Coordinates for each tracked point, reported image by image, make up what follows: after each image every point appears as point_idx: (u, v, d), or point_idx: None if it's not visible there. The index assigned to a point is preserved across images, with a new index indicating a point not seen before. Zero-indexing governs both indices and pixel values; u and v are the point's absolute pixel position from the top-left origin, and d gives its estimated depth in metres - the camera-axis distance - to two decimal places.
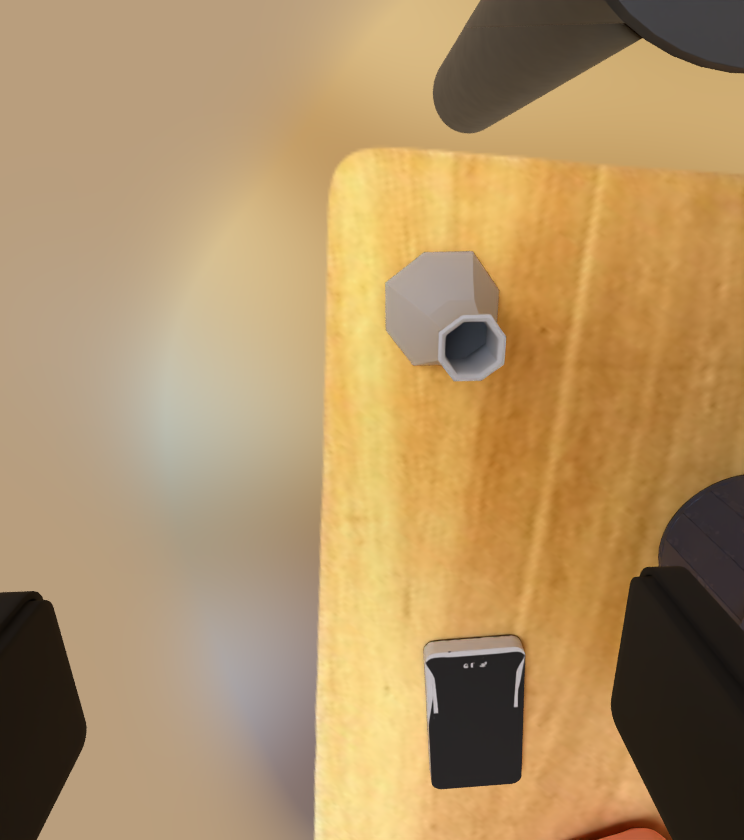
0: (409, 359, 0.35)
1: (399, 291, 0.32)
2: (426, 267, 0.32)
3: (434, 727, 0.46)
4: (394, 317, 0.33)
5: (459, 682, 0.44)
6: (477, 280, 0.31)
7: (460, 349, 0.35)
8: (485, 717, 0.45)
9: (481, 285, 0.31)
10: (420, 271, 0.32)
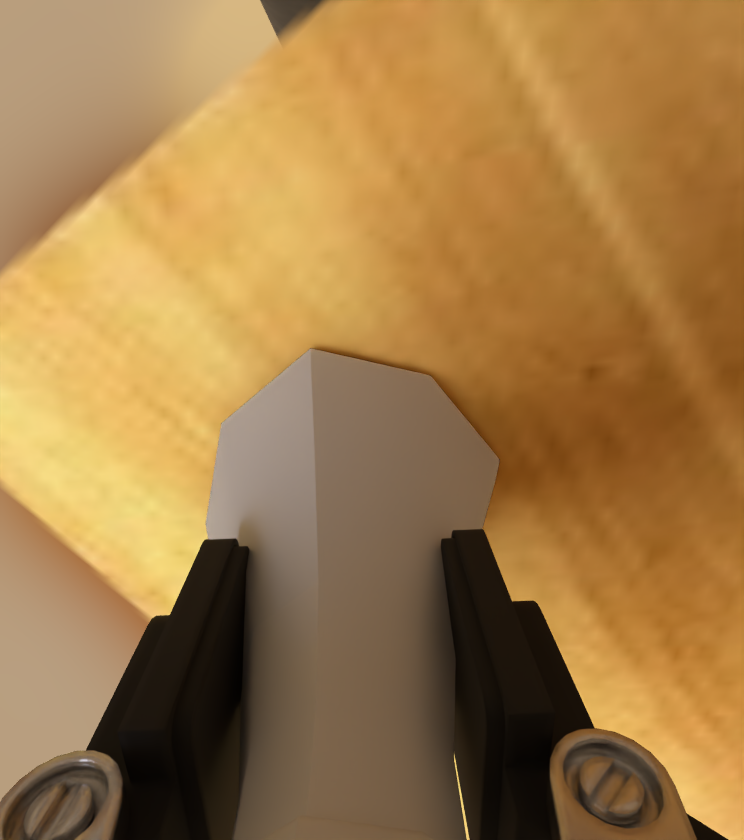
0: None
1: None
2: (228, 473, 0.12)
3: None
4: None
5: None
6: (336, 444, 0.11)
7: None
8: None
9: (356, 444, 0.11)
10: (223, 488, 0.12)
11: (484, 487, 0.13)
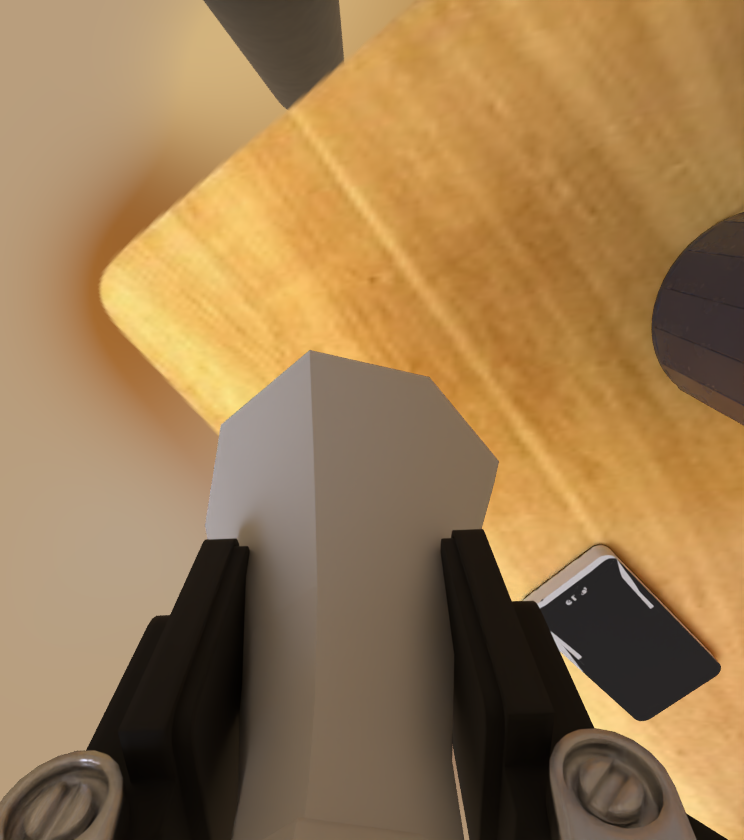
0: None
1: None
2: (228, 474, 0.12)
3: (591, 671, 0.42)
4: None
5: (576, 619, 0.40)
6: (335, 446, 0.11)
7: None
8: (631, 634, 0.41)
9: (355, 446, 0.11)
10: (223, 490, 0.12)
11: (483, 490, 0.13)
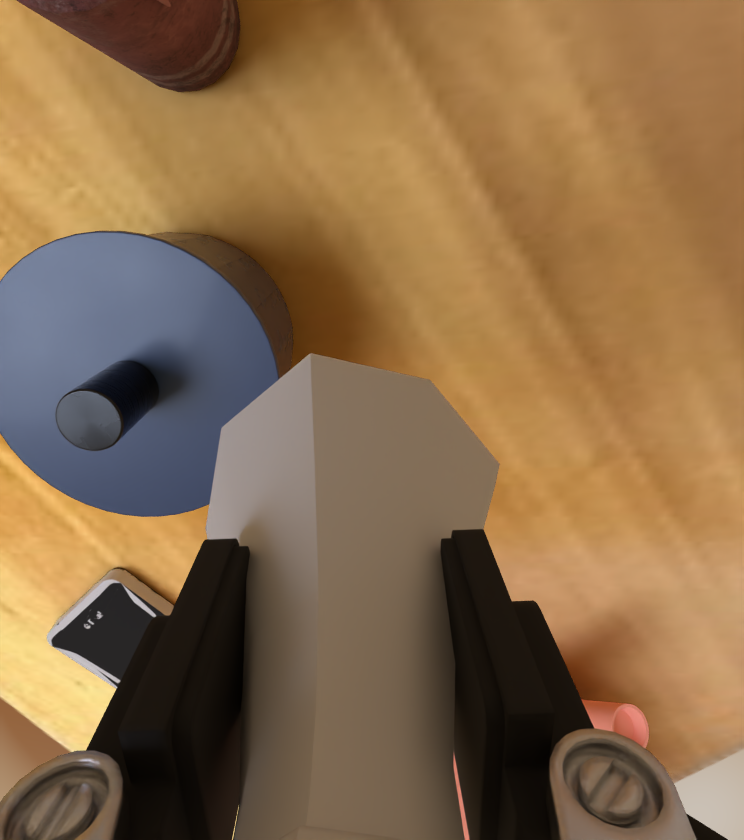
0: None
1: None
2: (229, 477, 0.12)
3: None
4: None
5: (101, 643, 0.39)
6: (336, 449, 0.11)
7: None
8: None
9: (356, 450, 0.11)
10: (223, 493, 0.12)
11: (484, 492, 0.13)
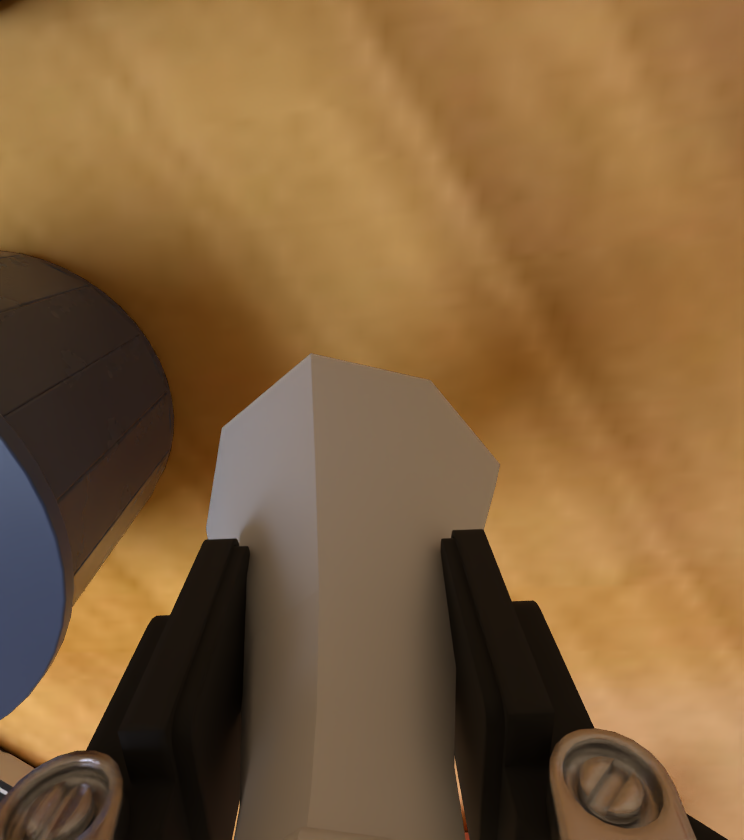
0: None
1: None
2: (229, 478, 0.12)
3: None
4: None
5: None
6: (337, 450, 0.11)
7: None
8: None
9: (357, 450, 0.11)
10: (224, 494, 0.12)
11: (484, 493, 0.13)
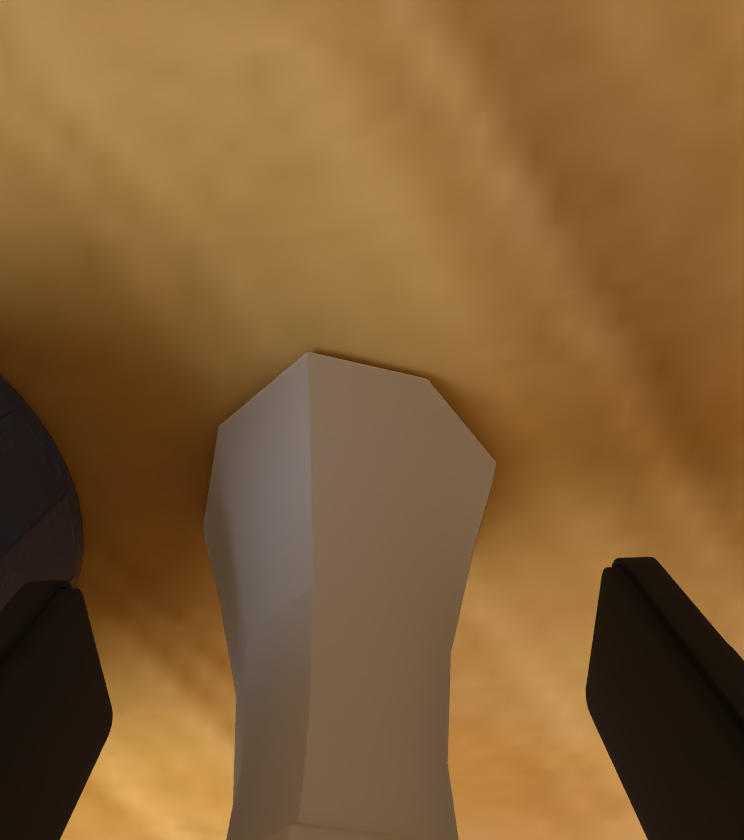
0: None
1: (213, 558, 0.13)
2: (225, 475, 0.12)
3: None
4: None
5: None
6: (332, 447, 0.11)
7: None
8: None
9: (352, 448, 0.11)
10: (220, 492, 0.12)
11: (480, 490, 0.13)
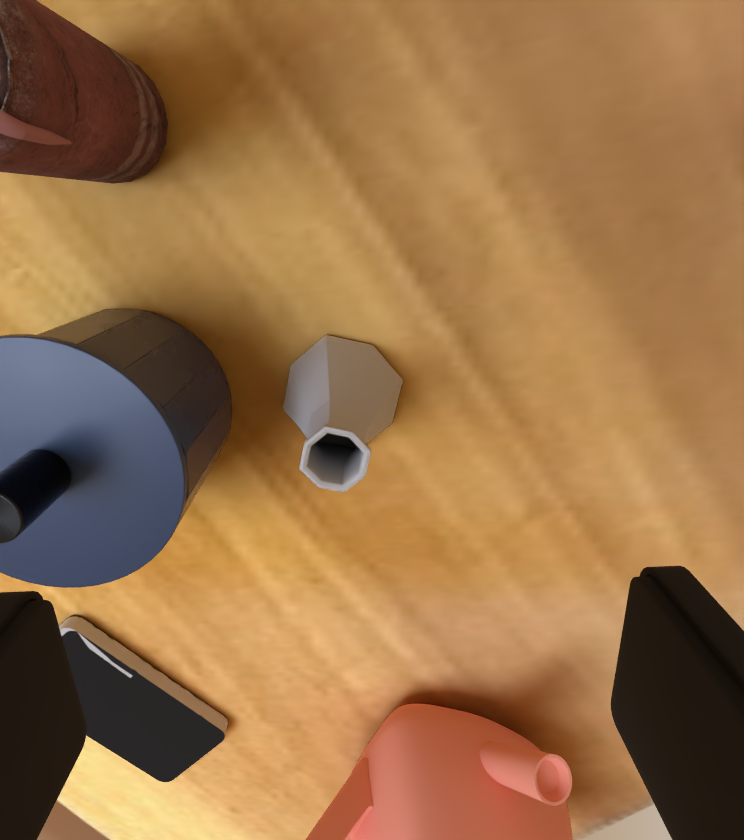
0: (349, 448, 0.36)
1: (290, 414, 0.33)
2: (295, 381, 0.33)
3: (96, 734, 0.43)
4: None
5: None
6: (335, 366, 0.31)
7: None
8: (120, 701, 0.42)
9: (342, 366, 0.31)
10: (293, 387, 0.33)
11: (392, 387, 0.33)
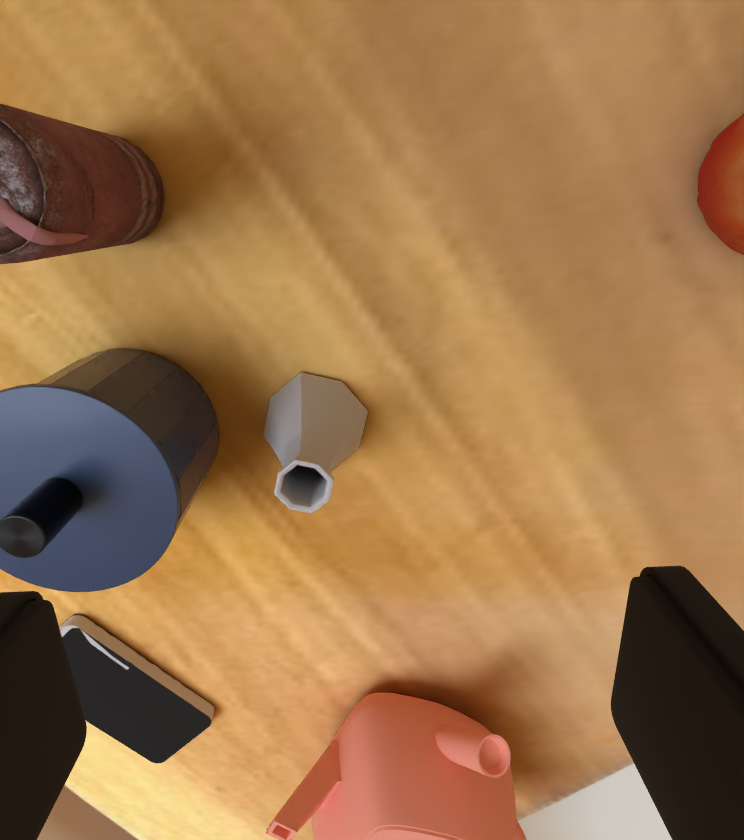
0: None
1: (269, 441, 0.38)
2: (274, 413, 0.38)
3: (96, 720, 0.48)
4: None
5: None
6: (308, 402, 0.36)
7: None
8: (118, 690, 0.47)
9: (314, 402, 0.36)
10: (272, 418, 0.38)
11: (357, 418, 0.38)
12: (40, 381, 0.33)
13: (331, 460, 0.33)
